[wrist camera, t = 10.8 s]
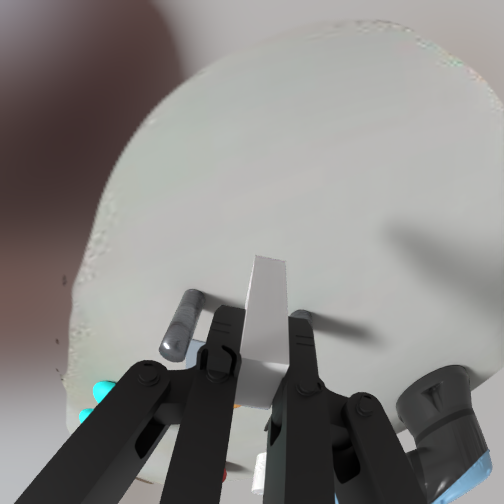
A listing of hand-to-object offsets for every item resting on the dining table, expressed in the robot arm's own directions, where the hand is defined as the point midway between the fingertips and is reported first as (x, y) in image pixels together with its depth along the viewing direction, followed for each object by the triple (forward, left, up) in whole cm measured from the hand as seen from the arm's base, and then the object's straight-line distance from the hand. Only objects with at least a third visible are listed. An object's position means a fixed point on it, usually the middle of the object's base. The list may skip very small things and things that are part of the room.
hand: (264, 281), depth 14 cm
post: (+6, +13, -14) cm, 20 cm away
